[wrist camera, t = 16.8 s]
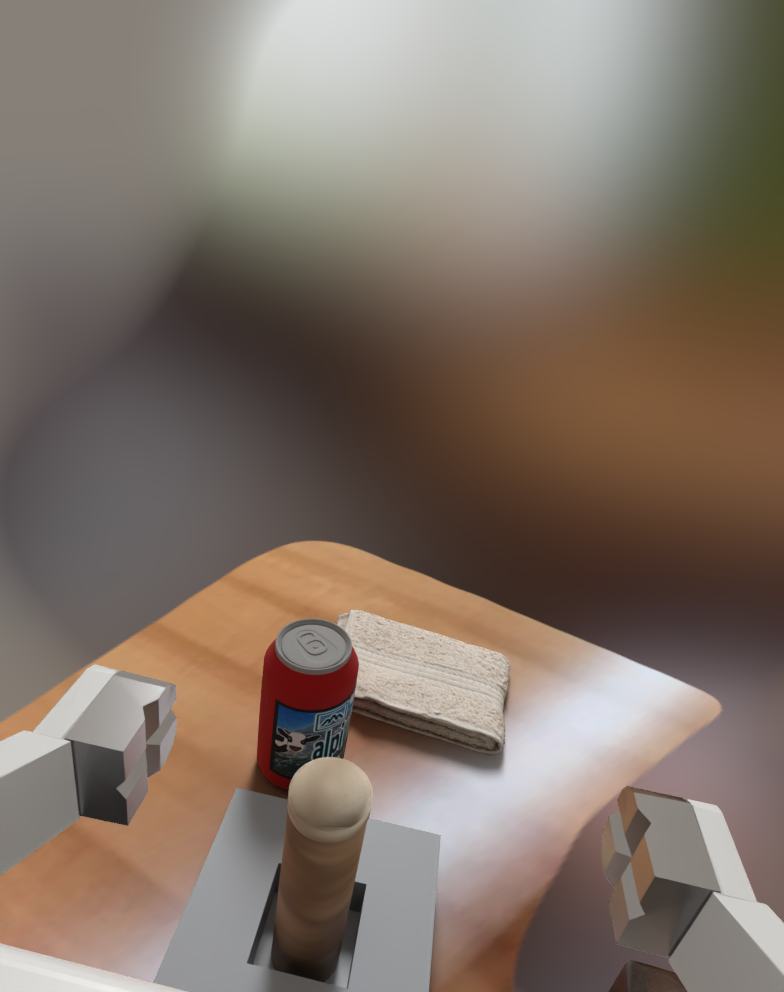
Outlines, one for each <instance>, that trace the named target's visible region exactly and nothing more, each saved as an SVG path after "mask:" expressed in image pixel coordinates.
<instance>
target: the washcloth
mask: <svg viewBox="0 0 784 992" xmlns="http://www.w3.org/2000/svg"><path fill="white" fill-rule="evenodd" d="M337 619H338V622H337V625H338V626H340V627H341V628H343V629H344V630H345V631H346V632H347V634H348V635H349V637H350V638H351V641H352V646H353V648H354V650H355V652H356V654H357V657H358V661H359V670H358V676H357V682H356V689H355V695H354V701H353V707H354V708H353V707H352V712H355V713H358V714H361V715H364V716H367V717H370V718H373V719H377V720H380V721H383V722H386V723H389V724H392V725H395V726H399V727H402V728H405V729H408V730H411V731H414V732H417V733H421V734H424V735H427V736H431V737H434V738H438V739H442V740H444V741H447V742H450V743H454V744H456V745H459V746H462V747H465V748H468V749H471V750H474V751H477V752H481V753H485V754H497V753H500V752H501V751H502V750H503V745H504V743H505V742H504V741H505V739H504V737H505V722H504V715H503V706H504V699H505V698H506V695H507V692H508V691H507V690H508V685H509V671H510V662H509V660H508V659H507V658H506V657H505V656H504V655H502V654H501V653H496V652H493V651H490V650H488V649H485V648H481V647H478V646H476V645H470V644H466V643H465V642H460V641H459V640H456V639H452V638H449V637H447V636H442V635H440V634H437V633H434V632H428V631H426V630H424V629H422V628H415V627H414V626H409V625H406V624H401V623H398V622H396V621H393V620H389V619H384V618H383V617H379V616H377V615H374V614H371V613H368V612H367V613H365V612H363V611H360V610H351V611H350V613H346V614H342V615H340V616H339V617H338V618H337Z"/></svg>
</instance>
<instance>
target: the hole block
mask: <svg viewBox="0 0 784 992" xmlns="http://www.w3.org/2000/svg"><path fill="white" fill-rule="evenodd" d="M287 802H288V799H284V798H280V797H275V796H271V795H267V794H263V793H258V792H254V791H250V790H245V789H241V788H236V791H235V793H234V795H233V798H232V800H231V802H230V805H229V807H228V809H227V812H226V814H225V816H224V819H223V821H222V823H221V826H220V828H219V830H218V833H217V835H216V837H215V840H214V842H213V844H212V847H211V849H210V851H209V854H208V856H207V858H206V861H205V863H204V866H203V868H202V870H201V873H200V875H199V877H198V880H197V882H196V884H195V887H194V889H193V891H192V894H191V896H190V898H189V901H188V903H187V905H186V908H185V910H184V912H183V915H182V917H181V919H180V922H179V924H178V926H177V929H176V931H175V933H174V936H173V938H172V940H171V943H170V945H169V947H168V950H167V952H166V954H165V957H164V959H163V961H162V964H161V966H160V968H159V971H158V973H157V975H156V978H155V980H154V982H153V983H157V984H161V985H165V986H168V987H172V988H176V989H180V990H184V991H188V992H429V983H430V969H431V956H432V943H433V929H434V916H435V903H436V889H437V876H438V863H439V849H440V836H441V835H437V834H433V833H429V832H425V831H420V830H416V829H412V828H408V827H403V826H399V825H395V824H390V823H386V822H382V821H378V820H373V819H369V818H368V821H367V825H366V830H365V835H364V840H363V844H362V849H361V854H360V859H359V864H358V869H357V873H356V878H355V883H354V888H353V893H352V897H351V902H350V907H349V912H348V917H347V922H346V926H345V931H344V936H343V941H342V946H341V951H340V955H339V960H338V963H337V966H336V968H335V970H334V972H333V973H332V975H331V976H330V977H329V978H328V979H327V980H326V981H325V982H324V983H323V982H319V981H316V980H312V979H308V978H304V977H300V976H296V975H292V974H288V973H284V972H280V971H276V970H275V969H274V966H273V963H272V954H271V951H272V942H273V933H274V925H275V916H276V907H277V898H278V889H279V881H280V872H281V863H282V854H283V846H284V837H285V828H286V819H287V811H288V809H287Z"/></svg>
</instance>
